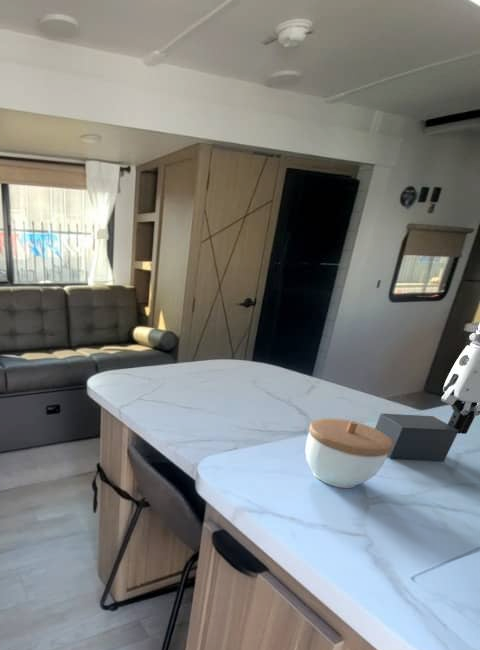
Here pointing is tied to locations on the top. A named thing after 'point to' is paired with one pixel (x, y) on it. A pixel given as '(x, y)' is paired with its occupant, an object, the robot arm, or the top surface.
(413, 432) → the dark grey brick
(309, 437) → the lidded bowl
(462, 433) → the robot arm
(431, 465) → the top surface
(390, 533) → the top surface
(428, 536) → the top surface
